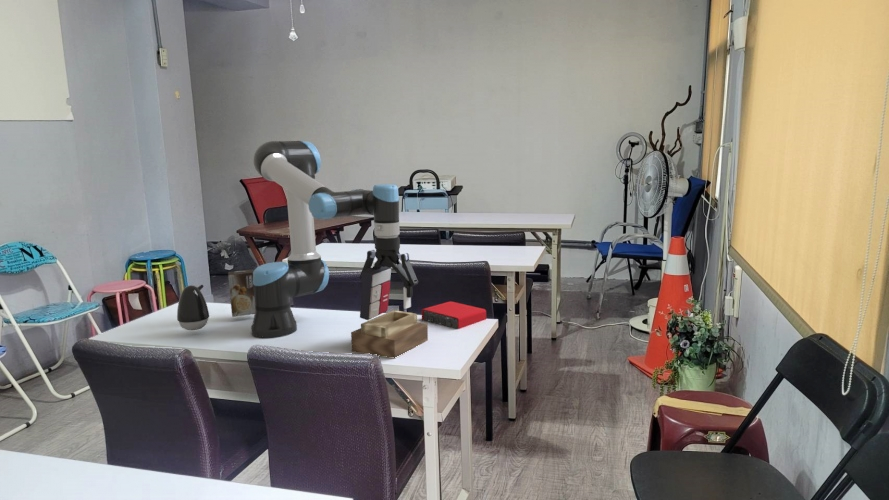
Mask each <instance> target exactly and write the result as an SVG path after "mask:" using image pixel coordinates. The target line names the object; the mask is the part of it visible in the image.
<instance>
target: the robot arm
mask: <svg viewBox="0 0 889 500" xmlns="http://www.w3.org/2000/svg"><path fill="white" fill-rule="evenodd" d="M253 166H254V169H255V171H257V173H258V174H259V176H260V177H262V178H264V179H265V180H266V181H269V182H274V183H276V184H277V185H279V186H281V187H282V188H283V189H285V190H286V203H287V215H288V216H287V217H288V226H289V227H288V229H289V238H290V239H289V241H290V255H289V256H288V257H287V262H285V261H275V262H268V263H267V262H266V263H264V264H261V265H259V266H257V267H256V268H255V269H254V270H253V286H254V299H255V314H253V315H254V316H253V321H252V324H251V327H250V329H251V332H250V333H251V335H252V336H254V337H255V338H263V339H264V338H266V339H269V338H270V339H271V338H279V337H284V336H285V337H286V336H289V335H291V334H293V333H294V334H295V332H296V331H297V330H298V328H297V327H298V325H297V324H298V323H297V321H296V320H295V316H294V314H293V310H292V309H291V299H293V298H296V297H302V296H307V295H314V294H316V293H318V292H322V291H323V290H324V289H325V288H326V287H327V286H328V283H329V278H330V271H329V267H328V266H327V265H328V264H327V263H326V261H324V260H323V259H322V255H320V254H319V253H318V252H317V248H316V247H317V244H316V232H315V220H314V219H316V220H330V219H335V218H336V219H337V218H343V217H353V216H354V217H355V216H361V215H362V216H363V215H365V216H366V215H369V216H373V227H374V230H373V231H374V236H375V238H374V249H371V250H368V251H366V259H365V262H364V264H363V266H362V270H361V273H360V275H359V279H360V280H361V279H362V271H364V270H367V269H370V268H372V269H374V270H377V269H380V268H381V267H385V266H386V267H391V269H393V270H394V271H395V272H396V274H397V276H398V277H399V278H400V280H401V281H402V283H403V284H404V287H402V288H403V289H402V290H403V310H405V309H406V310H407V309H409V308H411V307H412V297H413V295H414V292H413V291H414V290H413V288H414V286H416V285H417V286H418V284H419V280H418V278H417V276H416V273H415V270H414V268H413V265H412V263H411V261H410V255H409V253H408V252H405V253H400V247H401V239H400V236H399V235H400V234H401V233H400V197H399V195H400V194H399V187H398V186H397V185H396V184H393V183H390V184H387V183H383V184H382V183H381V184H375V185H374V186H373V188H372V190H369V189H363V188H362V189H361V188H360V189H359V188H357V189H352V190H348V191H334V190H331V189H330V188H329V187H327V186H325V185H323V184H322V183H321V182H319V181H317V180H316V174H318V173H319V172H320V170H321V169H320V168H321V167H322V160H321V155H320V152H319V150H318V149H317V147H316V146H315V145H314V144H313V143H312V142H310V141H304V140H271V141H266V142H264V143H263V144H261V145H259V146H258V147H257V149H256V150H255V153H254V155H253ZM375 258H376V261H375ZM374 261H375V262H374ZM372 265H373V266H372Z"/></svg>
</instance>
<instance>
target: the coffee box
mask: <svg viewBox="0 0 889 500" xmlns="http://www.w3.org/2000/svg"><path fill="white" fill-rule="evenodd" d="M253 272H254V270H253V269H246V270H236V271H234V270H232V271H228V272H227V276H228V278H227V279H228V285H229V287H228V288H229V297H230V309H231V310H230V311H231V316H232V317H233V318H234V317H242V316H243V317H244V316H249V315H255V299H254V286H253Z"/></svg>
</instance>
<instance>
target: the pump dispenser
mask: <svg viewBox="0 0 889 500" xmlns="http://www.w3.org/2000/svg"><path fill="white" fill-rule="evenodd" d="M203 288H204V284H200V285H199V286H196V285H193V284H191V285H187V286H185V287H184V288H183V289H182V291H181V294H180V296H179V299H178V303H177V311H176V314H177V315H176V318H177V322H178V323H179V325H180V327H181V328H182V329H184V330H186V331H197V330H200V329H203V328H204V327H205V326H206V325H207V324H208V321H209V317H210V312H209V307H208V304H207V301H206V299H205V296H204V294H203V293H202V291H201V290H203Z"/></svg>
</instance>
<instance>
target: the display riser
mask: <svg viewBox="0 0 889 500" xmlns="http://www.w3.org/2000/svg"><path fill="white" fill-rule="evenodd" d="M428 332H429V331H428V323H423V322H418V313H413V312H407V311H401V310H394V309H393V310H390V311H389V312H386V313H382V314H380V315H378V316H376V317H374V318H372V319H369V320H366V321H364V322H362V323H360V328H358V329H356V330H353V331H351V332H350V336H351V337H350V339H351V352H353V353H359V354H364V353H370V354H377V355H380V356H379V357H382V356H387V357H386V358H389V357H394V358H393V359H396V358H395V357H397V356H399V355H401V354H402V355H404V354H406V353H408V352H409V350H410V351H412V350H413V349H415V348H417V347H418V345H419V346H420V345H422V344H424V343H426V342H427V341H428V340H429V339H428V337H429V333H428ZM416 346H417V347H416ZM407 351H408V352H407ZM405 352H406V353H405ZM403 353H404V354H403ZM370 354H369V355H370ZM402 355H401V356H402ZM399 357H400V356H399ZM397 358H398V357H397Z"/></svg>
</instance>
